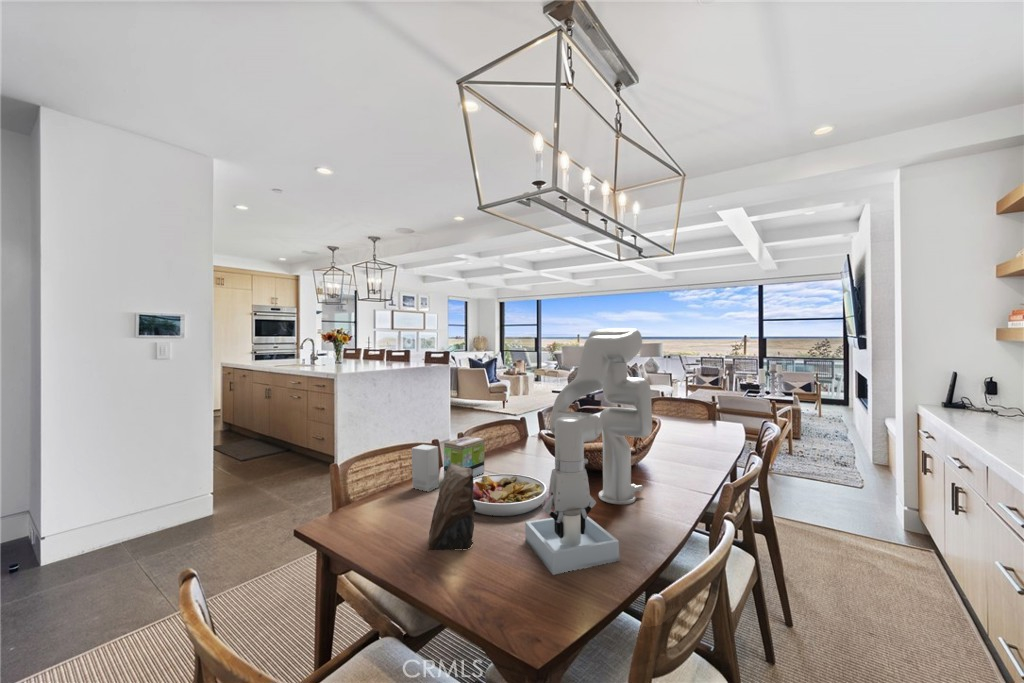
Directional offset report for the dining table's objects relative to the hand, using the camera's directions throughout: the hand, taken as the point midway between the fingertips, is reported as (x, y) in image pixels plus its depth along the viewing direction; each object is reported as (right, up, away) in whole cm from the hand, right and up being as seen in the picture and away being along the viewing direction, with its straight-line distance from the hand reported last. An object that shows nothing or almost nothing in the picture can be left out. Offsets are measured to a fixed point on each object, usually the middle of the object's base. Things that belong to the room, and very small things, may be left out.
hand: (570, 533), depth 107 cm
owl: (-32, -5, +5) cm, 33 cm away
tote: (0, -4, 0) cm, 4 cm away
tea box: (-35, -5, +61) cm, 70 cm away
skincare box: (-48, -5, +47) cm, 67 cm away
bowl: (-18, -5, +34) cm, 39 cm away
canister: (0, -2, 0) cm, 2 cm away
